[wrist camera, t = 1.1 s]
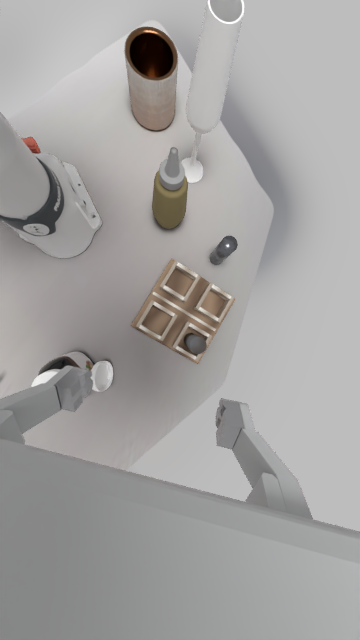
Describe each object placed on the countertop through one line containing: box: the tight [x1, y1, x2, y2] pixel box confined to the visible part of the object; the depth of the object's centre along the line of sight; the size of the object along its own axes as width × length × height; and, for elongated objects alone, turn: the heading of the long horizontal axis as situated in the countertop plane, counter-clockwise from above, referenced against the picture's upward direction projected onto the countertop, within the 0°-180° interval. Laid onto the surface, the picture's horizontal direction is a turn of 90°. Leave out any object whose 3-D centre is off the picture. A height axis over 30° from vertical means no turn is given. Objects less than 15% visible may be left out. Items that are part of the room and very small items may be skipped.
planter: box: [125, 27, 178, 130], centre depth 39 cm, size 11×11×10 cm
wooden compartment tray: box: [131, 258, 235, 364], centre depth 40 cm, size 20×20×10 cm
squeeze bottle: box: [152, 147, 188, 229], centre depth 36 cm, size 8×8×18 cm
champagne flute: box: [181, 0, 244, 183], centre depth 33 cm, size 7×7×24 cm
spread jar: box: [31, 352, 113, 392], centre depth 37 cm, size 12×11×12 cm
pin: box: [210, 236, 237, 265], centre depth 42 cm, size 4×4×9 cm
